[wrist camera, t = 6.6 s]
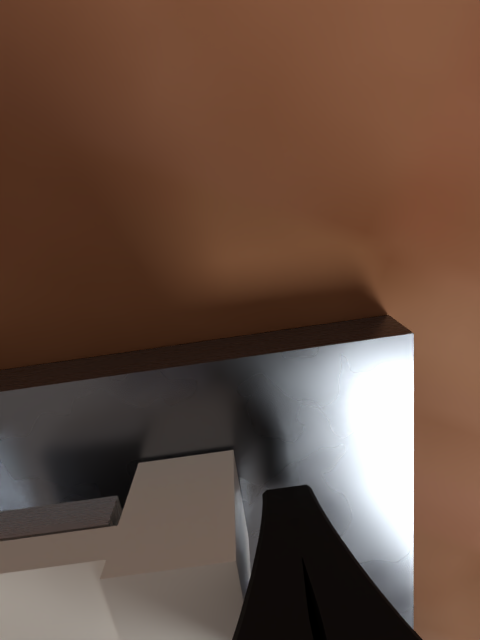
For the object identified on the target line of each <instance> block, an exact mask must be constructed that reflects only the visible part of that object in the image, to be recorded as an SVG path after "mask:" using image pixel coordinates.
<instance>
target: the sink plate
mask: <svg viewBox="0 0 480 640" xmlns="http://www.w3.org/2000/svg"><path fill="white" fill-rule="evenodd" d="M229 450H234V456H235V462H236V468H237V474H238V479H239V485H240V491H241V497H242V503H243V509H244V514H245V520H246V526H247V532H248V538H249V553H250V569H251V572H252V567H253V562H254V558H255V553H256V548H257V543H258V538H259V532H260V525H261V517H262V504H263V500H262V494H263V493H264V492H265V491H266V490H269V489H277V488H284V487H291V486H299V485H306V484H307V485H308V486H310V487H311V488H312V490H313V492H314V494H315V496H316V498H317V500H318V502H319V504H320V506H321V507H322V509H323V511H324V512H325V514H326V516H327V517H328V519H329V520H330V522H331V524H332V525H333V527H334V528H335V530H336V531H337V533H338V534H339V536H340V537H341V539H342V540H343V542H344V543H345V544H346V546H347V547H348V548H349V550H350V551H351V553H352V554H353V555H354V557H355V558H356V560H357V561H358V562H359V564H360V565H361V566H362V568H363V569H364V570H365V572H366V573H367V574H368V576H369V577H370V578H371V580H372V581H373V582H374V583H375V584H376V586H377V587H378V588H379V589H380V591H381V592H382V593H383V594H384V596H385V597H386V598H387V599H388V601H389V602H390V603H391V604H392V605H393V607H394V608H395V609H396V610H397V611H398V613H399V614H400V615H401V616H402V617H403V618H404V620H405V621H406V622H407V623H408V624H409V625H410V626H411V628H412V629H413V486H414V333H412V332H411V331H410V330H408V329H407V328H406V327H404V326H403V325H402V324H400V323H399V322H397V321H396V320H395V319H393V318H392V317H391V316H389V315H386V316H379V317H372V318H365V319H357V320H350V321H343V322H336V323H329V324H322V325H315V326H308V327H301V328H294V329H287V330H280V331H273V332H266V333H259V334H252V335H245V336H238V337H231V338H224V339H217V340H210V341H203V342H196V343H189V344H182V345H175V346H168V347H161V348H153V349H146V350H139V351H132V352H125V353H118V354H111V355H104V356H97V357H90V358H83V359H76V360H69V361H62V362H55V363H48V364H41V365H34V366H27V367H20V368H13V369H6V370H0V511H8V510H15V509H22V508H29V507H37V506H44V505H51V504H59V503H66V502H73V501H81V500H88V499H95V498H102V497H110V496H117V495H118V498H119V501H120V504H121V508H122V511H123V508H124V505H125V502H126V499H127V496H128V493H129V490H130V487H131V484H132V481H133V478H134V475H135V472H136V469H137V466H138V463H142V462H149V461H156V460H164V459H171V458H178V457H185V456H193V455H200V454H207V453H214V452H222V451H229Z"/></svg>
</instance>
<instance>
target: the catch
mask: <svg viewBox="0 0 480 640" xmlns="http://www.w3.org/2000/svg"><path fill="white" fill-rule="evenodd" d="M250 576H251V569H250V553H249V538H248V532H247V526H246V520H245V514H244V509H243V503H242V497H241V491H240V485H239V479H238V474H237V468H236V462H235V456H234V450H229V451H222V452H214V453H207V454H200V455H193V456H185V457H178V458H171V459H164V460H156V461H149V462H142V463H138V466H137V469H136V472H135V475H134V478H133V481H132V484H131V487H130V490H129V493H128V496H127V499H126V502H125V505H124V508H123V511H122V514H121V517H120V520H119V523H118V526H110V527H103V528H95V529H88V530H81V531H73V532H66V533H59V534H51V535H44V536H37V537H29V538H22V539H15V540H7V541H0V640H232V638H233V635H234V632H235V629H236V626H237V622H238V619H239V616H240V612H241V609H242V605H243V602H244V598H245V594H246V591H247V587H248V583H249V580H250Z"/></svg>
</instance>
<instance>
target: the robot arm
mask: <svg viewBox="0 0 480 640" xmlns="http://www.w3.org/2000/svg"><path fill="white" fill-rule="evenodd" d="M262 500H263V504H262V517H261V525H260V532H259V538H258V543H257V548H256V553H255V558H254V562H253V567H252V572H251V576H250V580H249V583H248V587H247V591H246V594H245V598H244V602H243V605H242V609H241V612H240V616H239V619H238V622H237V626H236V629H235V632H234V635H233V638H232V640H422V639H421V638H420V636H419V635H418V634H417V633H416V632H415V631H414V630H413V629H412V628H411V626H410V625H409V624H408V623H407V622H406V621H405V620H404V618H403V617H402V616H401V615H400V614H399V613H398V611H397V610H396V609H395V608H394V607H393V605H392V604H391V603H390V602H389V601H388V599H387V598H386V597H385V596H384V594H383V593H382V592H381V591H380V589H379V588H378V587H377V586H376V584H375V583H374V582H373V581H372V580H371V578H370V577H369V576H368V574H367V573H366V572H365V570H364V569H363V568H362V566H361V565H360V564H359V562H358V561H357V560H356V558H355V557H354V555H353V554H352V553H351V551H350V550H349V548H348V547H347V546H346V544H345V543H344V542H343V540H342V539H341V537H340V536H339V534H338V533H337V531H336V530H335V528H334V527H333V525H332V524H331V522H330V520H329V519H328V517H327V516H326V514H325V512H324V511H323V509H322V507H321V506H320V504H319V502H318V500H317V498H316V496H315V494H314V492H313V490H312V488H311V487H310V486H308V485H307V484H306V485H299V486H291V487H284V488H277V489H269V490H266V491H265V492H264V493H263V494H262Z"/></svg>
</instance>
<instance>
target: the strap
mask: <svg viewBox="0 0 480 640" xmlns="http://www.w3.org/2000/svg"><path fill="white" fill-rule="evenodd" d="M121 514H122V508H121V504H120V501H119V498H118V495H117V496H110V497H102V498H95V499H88V500H81V501H73V502H66V503H59V504H51V505H44V506H37V507H29V508H22V509H15V510H8V511H0V541H7V540H15V539H22V538H29V537H37V536H44V535H51V534H59V533H66V532H73V531H81V530H88V529H95V528H103V527H110V526H118V523H119V520H120V517H121Z"/></svg>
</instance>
